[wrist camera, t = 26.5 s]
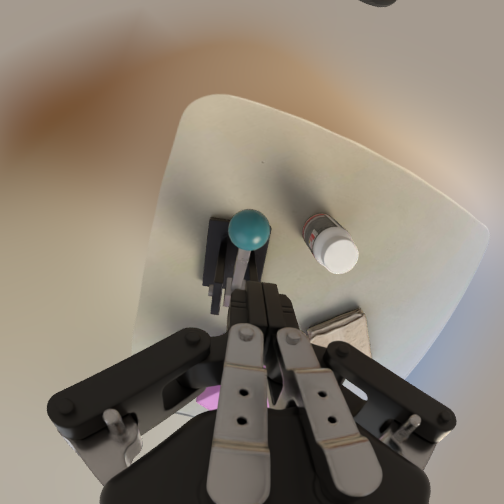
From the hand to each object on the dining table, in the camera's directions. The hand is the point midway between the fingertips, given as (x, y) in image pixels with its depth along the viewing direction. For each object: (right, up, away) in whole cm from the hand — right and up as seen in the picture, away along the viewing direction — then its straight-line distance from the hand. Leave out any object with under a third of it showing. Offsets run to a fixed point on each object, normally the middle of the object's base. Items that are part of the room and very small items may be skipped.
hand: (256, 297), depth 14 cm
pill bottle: (+10, +6, +28) cm, 30 cm away
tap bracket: (-3, +2, +28) cm, 29 cm away
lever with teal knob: (-1, +2, +15) cm, 15 cm away
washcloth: (+18, -17, +38) cm, 45 cm away
